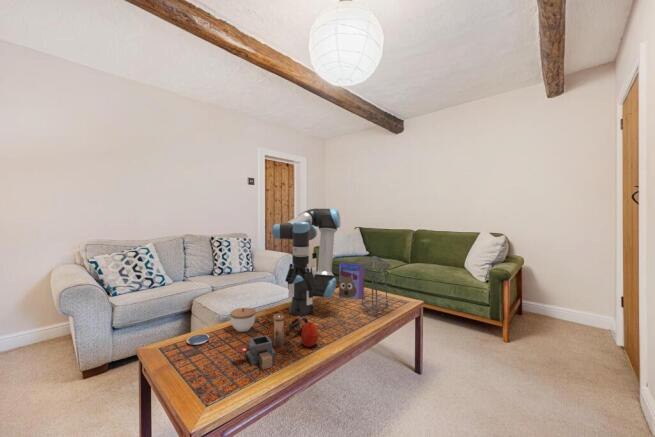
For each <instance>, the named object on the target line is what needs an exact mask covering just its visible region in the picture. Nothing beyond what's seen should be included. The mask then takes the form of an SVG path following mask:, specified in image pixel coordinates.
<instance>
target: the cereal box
mask: <svg viewBox="0 0 655 437" xmlns="http://www.w3.org/2000/svg"><path fill="white" fill-rule="evenodd" d="M359 264H360V263H359ZM359 264H358V263H356V264H355V263H339V278H338V279H339V286H338V287H339V288H338V297H339V298H340V299H354V300H362V290H363V276H364V271H363V270H364V269H365V268H363V267H361V268H362V269H363V270H362V269H361V268H360V267H359V266H358V265H359ZM362 266H365V265H362ZM364 297H365V292H364V293H363V300H364Z"/></svg>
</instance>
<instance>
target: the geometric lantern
mask: <svg viewBox="0 0 655 437" xmlns="http://www.w3.org/2000/svg"><path fill="white" fill-rule="evenodd" d="M362 265H364V266H362ZM358 266H359V267H360V268H361V267H363V268H364V270H363V269H362V268H361V269H362V270H363V271H364V276H363V290H362V299H361V306H363V307H364V308H365V309H366V310H365V312H366V313H367V314H370V315H373V316H379V315H383V314H385V309H386V308H387V309H388V307H389V303H388V289H387V276H386V273H385V271H387V270H388V269H389V268H390V267H391V266H392V264H390V263H388V262H387V261H385V260H384V259H382V258H380V257H379V256H376V255H374V256H371V257H369V258H367V259H366V260H363V261H362V262H360V263H359V265H358ZM371 266H372V267H371ZM374 269H375V270H377V273H376V274H374V273H373V272H372V270H374ZM370 272H371V273H370ZM366 273H368V275H366ZM382 273H383V275H384V276H382V275H380V274H382ZM365 275H366V276H365ZM368 277H370V278H368ZM378 277H381V278H379V279H378ZM365 279H367V280H370V281H371V300H369V301H366V302H364V299H363V293H364V294H365ZM381 280H384V286H385V300H386V303H385V302H382V301H379V300H378V281H381ZM374 287H375V288H374ZM374 292H375V299H374ZM374 302H375V304H374ZM368 303H371V306H367V305H365V304H368ZM378 303H380V304H382V305H385V306H381V307H380V306H378ZM370 311H371V312H370ZM381 311H382V312H381ZM372 312H373V313H372ZM378 312H381V313H378Z"/></svg>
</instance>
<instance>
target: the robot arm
mask: <svg viewBox="0 0 655 437" xmlns="http://www.w3.org/2000/svg"><path fill="white" fill-rule="evenodd" d="M340 227H341V216H340V212H339V210H338V209H336V208H310V209H307V210H304V211H302V212H300V213H299V214H298V216H296V217H294V218H293V219H290V220H289V221H287V222H285V223H281V224H280V223H277V224H276V223H275V224H274V225H273V226H272V228H271V235H272V237H273V238H274V239H277V240H292V263H289V266H288V270H287V274H286V277H285V280H284V281H285V282H287V284H288V285H287V286H288V299H290V298H291V302H290V304H289V307H288V312H289V314H290V315H292V316H297V317H304V316H305V317H306V316H310V315H312V314H314V311H315V310H314V309H315V307H314V305H313V304H314V303H313V298H314V297H316V298H317V297H318V298H324V299H325V298H332V297H333V296H334V294H335V292H336V287H337V278H336V277H335V275H334V274H333V259H334V257H333V255H334V245H335V242H334V241H335V233H336V232H337V231H338V228H340ZM317 228H318V229H317ZM318 230H319V232H320V236H319V246H318V247H319V249H318V250H319V251H318V261H317V262H318V264H317V271H316V272H315V273H313V267H308V265H309V264H310V263H309V262H310V257H309V254H310V241H312V240H314V239H315V238H317V236H318ZM313 274H314V275H313Z"/></svg>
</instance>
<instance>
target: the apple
mask: <svg viewBox="0 0 655 437" xmlns="http://www.w3.org/2000/svg"><path fill="white" fill-rule="evenodd" d="M319 334H320V333H319V331H318V328H317V326H316V324H315V323H313V322H309V321H308V323H306V324H305V325H304V327H303V328H302V330H301V334H300V337H301V342H302V345H304V346H305V347H307V348H310V347H313V346H315V344H316V343H317V341H318V340H319V336H320V335H319Z"/></svg>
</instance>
